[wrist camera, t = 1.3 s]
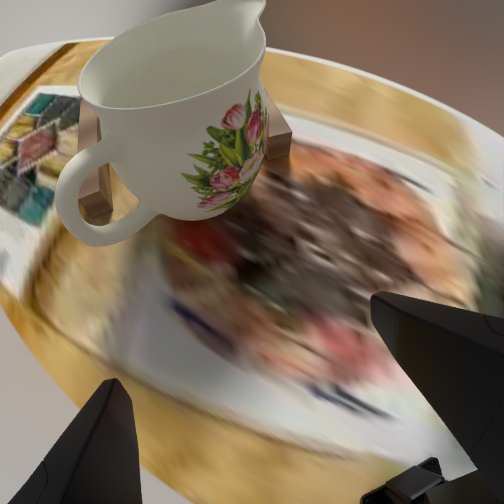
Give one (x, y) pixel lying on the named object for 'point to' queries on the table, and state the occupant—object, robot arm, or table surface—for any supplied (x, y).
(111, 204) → the dock
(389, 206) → the table surface
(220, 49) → the pitcher
